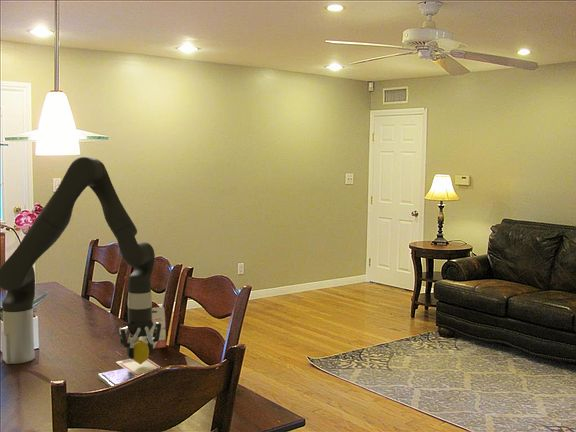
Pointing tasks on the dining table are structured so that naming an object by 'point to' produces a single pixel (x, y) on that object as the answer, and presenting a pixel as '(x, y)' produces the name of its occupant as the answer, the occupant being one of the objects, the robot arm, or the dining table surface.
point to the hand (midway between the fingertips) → (140, 356)
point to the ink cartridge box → (160, 319)
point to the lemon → (140, 352)
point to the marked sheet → (137, 366)
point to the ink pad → (116, 376)
